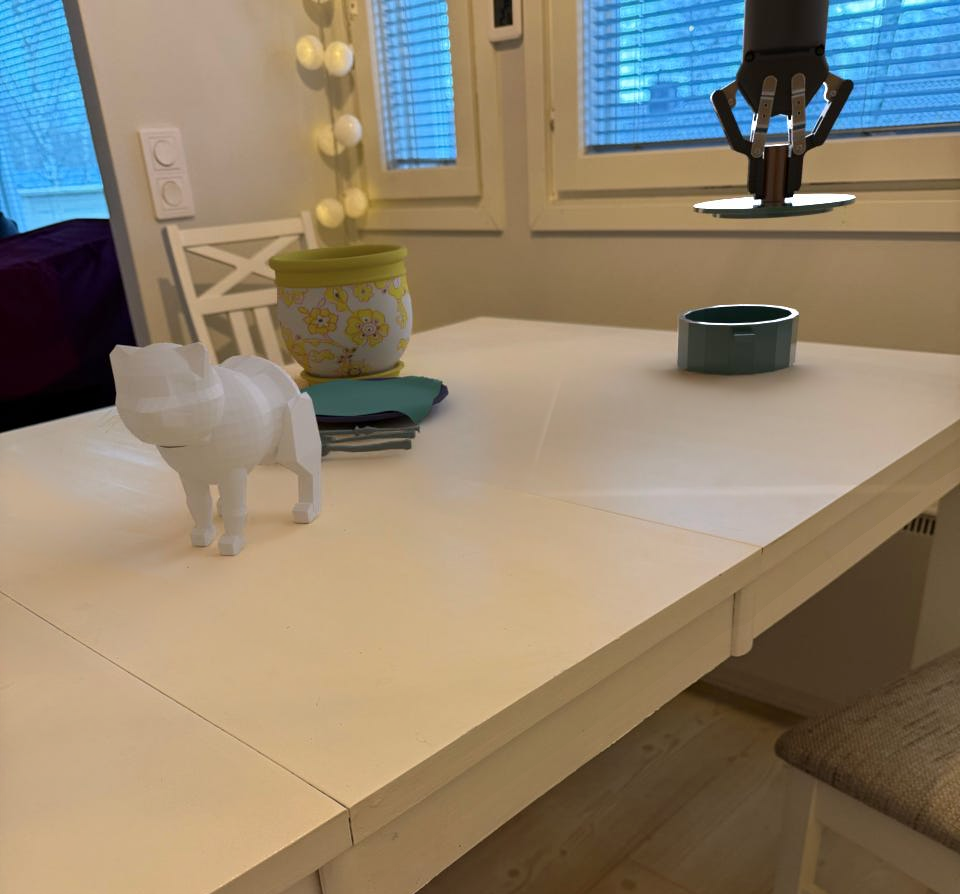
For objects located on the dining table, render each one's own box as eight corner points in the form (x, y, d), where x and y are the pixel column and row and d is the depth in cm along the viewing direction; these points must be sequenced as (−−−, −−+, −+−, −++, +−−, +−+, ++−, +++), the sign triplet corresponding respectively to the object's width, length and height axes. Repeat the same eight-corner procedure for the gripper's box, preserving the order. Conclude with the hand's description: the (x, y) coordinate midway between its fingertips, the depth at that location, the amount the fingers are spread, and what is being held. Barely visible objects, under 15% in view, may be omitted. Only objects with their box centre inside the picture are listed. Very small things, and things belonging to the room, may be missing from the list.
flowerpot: (330, 402, 119) (310, 263, 112) (265, 383, 132) (244, 257, 125) (444, 375, 129) (434, 246, 121) (373, 360, 142) (360, 242, 134)
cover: (837, 202, 101) (843, 138, 98) (870, 213, 88) (878, 139, 85) (688, 212, 104) (690, 149, 101) (698, 224, 90) (700, 152, 87)
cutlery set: (457, 388, 122) (455, 370, 121) (430, 457, 95) (428, 434, 94) (306, 396, 123) (303, 378, 122) (238, 466, 97) (234, 443, 96)
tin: (782, 348, 130) (786, 299, 127) (804, 382, 112) (810, 325, 109) (674, 353, 132) (675, 304, 129) (679, 386, 115) (681, 331, 112)
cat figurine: (263, 478, 93) (231, 299, 85) (362, 481, 90) (338, 296, 82) (108, 583, 72) (47, 358, 64) (231, 592, 69) (182, 357, 61)
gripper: (712, -6, 85) (705, 206, 93) (876, -22, 83) (853, 196, 91) (706, 4, 91) (699, 201, 99) (857, -11, 89) (838, 191, 97)
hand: (773, 197), depth 95 cm, fingers closed on cover, 2 cm apart
